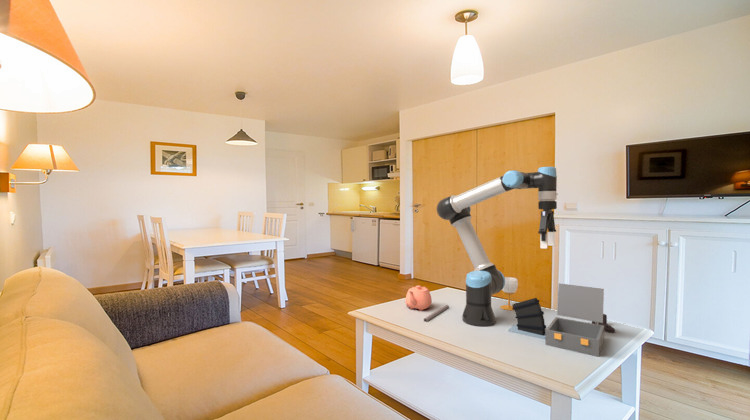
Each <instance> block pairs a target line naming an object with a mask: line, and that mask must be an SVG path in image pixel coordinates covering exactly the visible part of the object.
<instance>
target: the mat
mask: <svg viewBox="0 0 750 420" xmlns="http://www.w3.org/2000/svg"><path fill="white" fill-rule="evenodd" d="M516 325H517V324H516ZM516 325H515V324H513V325H512V326H510V328H508V329H507V331H508V332H510V333H514V334H517V335H518V334H519V335H524V336H529V337H532V338H536V339H542V340H546V331H545V334H544V335H539V334H535V333H530V332H526V331H522V330H518V326H516Z"/></svg>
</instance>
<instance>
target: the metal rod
mask: <svg viewBox="0 0 750 420" xmlns="http://www.w3.org/2000/svg"><path fill="white" fill-rule="evenodd" d="M449 308H450V306H449V305H448V304H445V305H443V306H442V307H441V308H439V309H437V310H436V311H433V313H431V314H429V315H428V316H425V318H423V322H426V323H427V322H429V321H430V320H433V319H434V318H435V317H436V316H439V315H440V314H442V313H443V312H444V311H446V310H448V309H449Z"/></svg>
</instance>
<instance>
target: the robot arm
mask: <svg viewBox="0 0 750 420" xmlns="http://www.w3.org/2000/svg"><path fill="white" fill-rule="evenodd" d="M557 177H558V175H557V168H556V167H555V166H542V167H541V166H540V167H539V168H538V169H537V171H534V172H523V171H519V170H507V171H506V172H505V173H504V174H503V175H502V176H499V177H497V178H494V179H492V180H489V181H487V182H485V183H482V184H480V185H478V186H475V187H474V188H471V189H469V190H466V191H464V192H462V193H459V194H457V195H454V194H452V195H450V196H448V197H445V198H442V199H441V200H439V201H438V203H437V204H436V213H437V215H438V216H439V218H441V219H443V220H445V221H448V222H449V223H450V225H451V227H454V228H455V229H456V231H457V233H458V235H459V238H460V240H461V242H462V244H463V246H464V249H465V251H466V253H467V255H468V258H469V259H470V261H471V263H472V266H473V268H474V270H473V271H470V272H468V273H467V274H466V277H465V306H464V309H463V312H462V315H461V317H462V321H463V323H466V324H468V325H471V326H477V327H478V326H479V327H490V326H493V325H494V324H496V317H495V314H494V311H493V308H492V296H494V295H495V294H498V293H500V292H501V291H503V290H502V289H503V288H504V285H505V277H506V276H505V275H504V274H503V273H502V271H500V270H498V268H497V266H496V264H495V263H492V262H491V261H490V259H489V257H488V255H487V252H486V251H485V249H484V246H483V244H482V242H481V240H480V238H479V236H478V234H477V232H476V230H475V228H474V226H473V224H472V217H473V216H472V215H471V211H472V210H471V207H472V206H475V205H477V204H479V203H482V202H484V201H487V200H489V199H492V198H494V197H496V196H500V195H501V194H504V193H506V192H509V191H512V190H525V189H537V190H538V193H537V197H538V198H537V199H538V200H539V201H538V202H537V203H538V206H537V208H538V210H542V211H540V222H539V228H538V229H539V231H538V234H540V239H539V241H540V242H539V243H540V244H539V245H540V247H539V248H540V249H548V246H552V247H554V246H555V232H556V233H557V229H556V226H555V225H556V224H555V216H554V214H555V212H554V211H553V210H557V205H558V204H557V201H556V200H557V199H558V197H557V196H558V195H559V194H558V192H557V180H558V179H557Z"/></svg>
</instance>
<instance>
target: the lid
mask: <svg viewBox="0 0 750 420" xmlns="http://www.w3.org/2000/svg"><path fill="white" fill-rule="evenodd" d="M557 287H558V292H557V307H556V308H557V309H556V310H557V312H556V316H559V317H567V318H571V319H572V318H573V319H576V320H577V319H578V320H582V321H589V322H592V321H594V322H600V323H603V314H604V299H605V298H604V295H605V293H604V290H605V289H604V288H601V287H600V288H598V287H593V286H592V287H591V286H582V285H577V284H576V285H575V284H567V283H558V286H557Z"/></svg>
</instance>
